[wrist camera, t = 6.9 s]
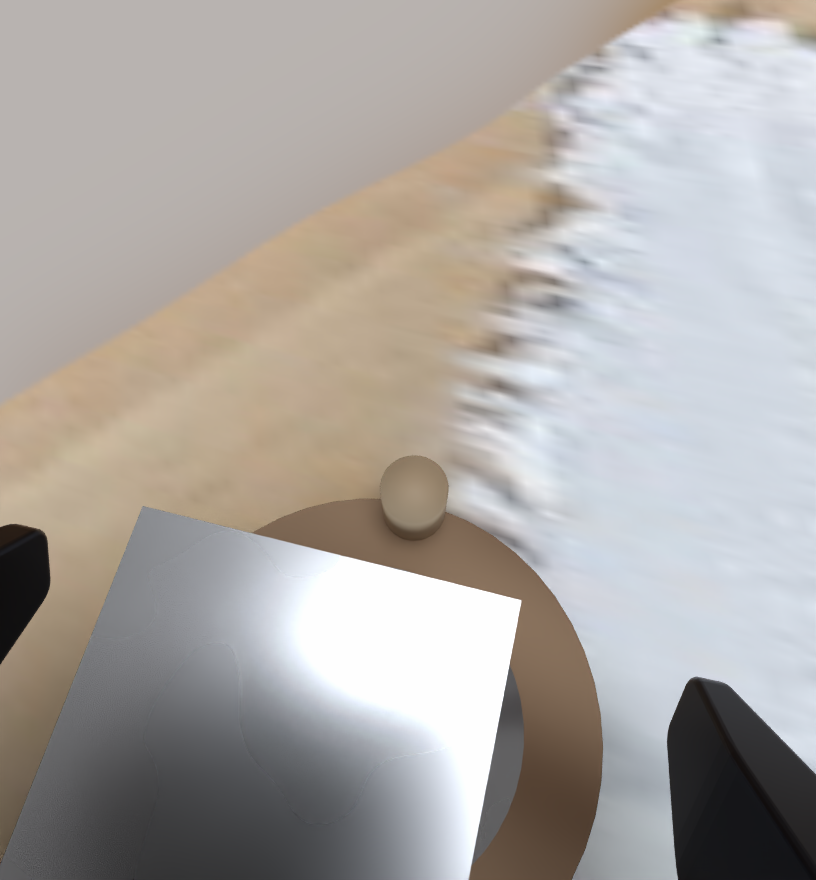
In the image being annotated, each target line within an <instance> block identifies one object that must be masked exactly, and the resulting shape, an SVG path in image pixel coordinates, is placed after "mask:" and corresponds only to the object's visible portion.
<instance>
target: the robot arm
mask: <svg viewBox="0 0 816 880" xmlns="http://www.w3.org/2000/svg"><path fill="white" fill-rule="evenodd" d="M49 587H50V568H49V555H48V542H47V537H46V535H45V533H44V532H43V531H41V530H40V529H37V528H32V527H28V526H23V525H19V524H9V525H6V526H2V527H0V664H1V663H2V661H3V660H4V658H5V657H6V655H7V654H8V652H9V651H10V650H11V648H12V647H13V645H14V644H15V642H16V641H17V639H18V638H19V636H20V635H21V633H22V632H23V630H24V629H25V627H26V626H27V624H28V623H29V622H30V620H31V619H32V617H33V616H34V614H35V613H36V611H37V610H38V608H39V607H40V605H41V604H42V602H43V601H44V599H45V597H46V595H47V593H48V590H49ZM667 748H668V763H669V777H670V791H671V806H672V820H673V834H674V848H675V859H676V868H677V875H678V880H816V774H815V773H814V772H813V771H812V770H811V769H810V768H809V767H808V766H807V765H806V764H805V763H804V762H803V761H802V760H801V759H800V758H799V757H798V755H797V754H796V753H795V752H794V751H793V750H792V749H791V748H790V747H789V746H788V745H787V744H786V743H785V742H784V741H783V740H782V739H781V738H780V737H779V736H778V735H777V734H776V733H775V732H774V731H773V730H772V729H771V728H770V727H769V726H768V725H767V724H766V723H765V722H764V721H763V720H762V719H761V718H760V717H759V716H758V715H757V714H756V713H755V712H754V711H753V710H752V709H751V708H750V707H749V705H748V704H747V703H746V702H745V701H744V700H743V699H742V698H741V697H740V696H739V695H738V694H737V693H736V692H735V691H734V690H733V689H732V688H731V687H730V686H728V685H727V684H725V683H723V682H719V681H714V680H710V679H705V678H701V677H694V678H691V679H690V680H689V681H688V683H687V684H686V686H685V689H684V691H683V693H682V696H681V698H680V701H679V703H678V705H677V708H676V710H675V713H674V715H673V718H672V720H671V722H670V725H669V729H668V736H667Z"/></svg>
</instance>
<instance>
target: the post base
mask: <svg viewBox="0 0 816 880" xmlns="http://www.w3.org/2000/svg"><path fill="white" fill-rule="evenodd" d="M380 494H381V499H354V500H345V501H336V502H330V503H326V504H322V505H318V506H314V507H309V508H306V509H303V510H300V511H298V512H295V513H292V514H290V515H287V516H284V517H282V518H279V519H278V520H276V521H274V522H272V523H270V524H268V525H266V526H264V527H262V528H260V529H258V530H256V531H255V532H253V534H257V535H261V536H265V537H269V538H273V539H277V540H281V541H285V542H289V543H293V544H297V545H301V546H305V547H309V548H313V549H317V550H321V551H325V552H329V553H333V554H337V555H341V556H345V557H349V558H353V559H357V560H361V561H365V562H369V563H373V564H377V565H381V566H386V567H391V568H397V569H402V570H406V571H409V572H412V573H415V574H418V575H421V576H425V577H429V578H433V579H437V580H441V581H445V582H449V583H453V584H457V585H461V586H465V587H469V588H473V589H477V590H481V591H485V592H489V593H493V594H497V595H501V596H505V597H509V598H513V599H517V600H521V605H520V610H519V616H518V621H517V626H516V631H515V637H514V642H513V647H512V653H511V658H510V663H509V664H510V667H511V669H512V672H513V674H514V677H515V680H516V684H517V688H518V692H519V696H520V699H521V706H522V714H523V721H524V749H523V758H522V766H521V772H520V776H519V780H518V784H517V788H516V792H515V795H514V797H513V800H512V803H511V805H510V808H509V811H508V813H507V815H506V817H505V819H504V821H503V823H502V825H501V827H500V829H499V830H498V832H497V834H496V836H495V837H494V838H493V840H492V841H491V843H490V844H489V846H488V847H487V848H486V850H485V851H484V853H483V854H482V855H481V856H480V857H479V858H478V859H477V860H476V861H475V863H474V864H473V865H472V866H471V869H470V875H469V880H572V878H573V875H574V873H575V871H576V869H577V866H578V864H579V862H580V860H581V857H582V855H583V853H584V851H585V848H586V845H587V842H588V838H589V835H590V832H591V829H592V825H593V822H594V819H595V815H596V809H597V804H598V798H599V792H600V786H601V778H602V757H603V741H602V727H601V714H600V709H599V703H598V698H597V693H596V688H595V683H594V679H593V676H592V673H591V670H590V667H589V664H588V661H587V658H586V655H585V652H584V649H583V647H582V645H581V643H580V641H579V638H578V636H577V634H576V632H575V630H574V628H573V625H572V623H571V621H570V620H569V618H568V617H567V615H566V613H565V612H564V610H563V609H562V607H561V605H560V604H559V602H558V600H557V599H556V597H555V596H554V595H553V593H552V592H551V591H550V590H549V588H548V587H547V586H546V585H545V583H544V582H543V581H542V580H541V578H540V577H539V576H538V575H537V573H536V572H535V571H534V570H533V569H532V568H531V567H530V566H528V565H527V564H526V563H525V562H524V561H523V560H522V559H521V558H520V557H519V556H518V555H517V554H516V553H515V552H514V551H512V550H511V549H510V548H508V547H507V546H506V545H504V544H503V543H502V542H501V541H499V540H498V539H497V538H495V537H494V536H493V535H491V534H489V533H487V532H486V531H484V530H482V529H481V528H479V527H477V526H475V525H474V524H472V523H470V522H468V521H466V520H464V519H461V518H459V517H457V516H454V515H452V514H449V513H447V512H445V509H446V503H447V497H448V481H447V477H446V475H445V473H444V471H443V470H442V469H441V467H440V466H439V465H438V464H437V463H435V462H434V461H432V460H430V459H428V458H426V457H422V456H406V457H403V458H400V459H398V460H396V461H395V462H393V463H392V464H391V465H390V466H389V467H388V468H387V469H386V471H385V472H384V474H383V476H382V479H381V483H380Z"/></svg>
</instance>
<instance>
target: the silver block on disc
mask: <svg viewBox="0 0 816 880" xmlns="http://www.w3.org/2000/svg"><path fill="white" fill-rule="evenodd" d="M520 605H521V600H517V599H513V598H509V597H505V596H501V595H497V594H493V593H489V592H485V591H481V590H477V589H473V588H469V587H465V586H461V585H457V584H453V583H449V582H445V581H441V580H437V579H433V578H429V577H425V576H421V575H418V574H415V573H412V572H409V571H406V570H402V569H397V568H391V567H386V566H381V565H377V564H373V563H369V562H365V561H361V560H357V559H353V558H349V557H345V556H341V555H337V554H333V553H329V552H325V551H321V550H317V549H313V548H309V547H305V546H301V545H297V544H293V543H289V542H285V541H281V540H277V539H273V538H269V537H265V536H261V535H257V534H253V533H249V532H245V531H241V530H237V529H233V528H229V527H225V526H221V525H217V524H213V523H209V522H205V521H201V520H197V519H193V518H189V517H185V516H181V515H177V514H173V513H169V512H165V511H161V510H157V509H153V508H149V507H144V506H143V507H142V510H141V512H140V515H139V517H138V520H137V522H136V525H135V527H134V530H133V532H132V535H131V537H130V540H129V542H128V545H127V547H126V550H125V552H124V555H123V557H122V560H121V562H120V565H119V567H118V570H117V572H116V575H115V577H114V580H113V582H112V585H111V587H110V590H109V592H108V595H107V597H106V600H105V603H104V605H103V608H102V610H101V613H100V615H99V618H98V620H97V623H96V625H95V628H94V630H93V633H92V635H91V638H90V640H89V643H88V645H87V648H86V650H85V653H84V655H83V658H82V660H81V663H80V665H79V668H78V670H77V673H76V675H75V678H74V680H73V683H72V685H71V688H70V690H69V693H68V695H67V698H66V701H65V703H64V706H63V708H62V711H61V713H60V716H59V718H58V721H57V723H56V726H55V728H54V731H53V733H52V736H51V738H50V741H49V743H48V746H47V748H46V751H45V753H44V756H43V758H42V761H41V763H40V766H39V768H38V771H37V773H36V776H35V778H34V781H33V783H32V786H31V788H30V791H29V793H28V796H27V799H26V801H25V804H24V806H23V809H22V811H21V814H20V816H19V819H18V821H17V824H16V826H15V829H14V831H13V834H12V836H11V839H10V841H9V844H8V846H7V849H6V851H5V854H4V856H3V859H2V861H1V864H0V880H469V875H470V869H471V866H472V865H473V864H474V863H475V861H476V860H477V859H478V858H479V857H480V856H481V855H482V854H483V853H484V851H485V850H486V848H487V847H488V846H489V844H490V843H491V841H492V840H493V838H494V837H495V836H496V834H497V832H498V830H499V829H500V827H501V825H502V823H503V821H504V819H505V817H506V815H507V813H508V811H509V808H510V805H511V803H512V800H513V797H514V795H515V792H516V788H517V784H518V780H519V776H520V772H521V766H522V758H523V749H524V721H523V714H522V706H521V699H520V696H519V692H518V688H517V684H516V680H515V677H514V674H513V672H512V669H511V667H510V664H509V663H510V658H511V653H512V647H513V642H514V637H515V631H516V626H517V621H518V616H519V610H520Z"/></svg>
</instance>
